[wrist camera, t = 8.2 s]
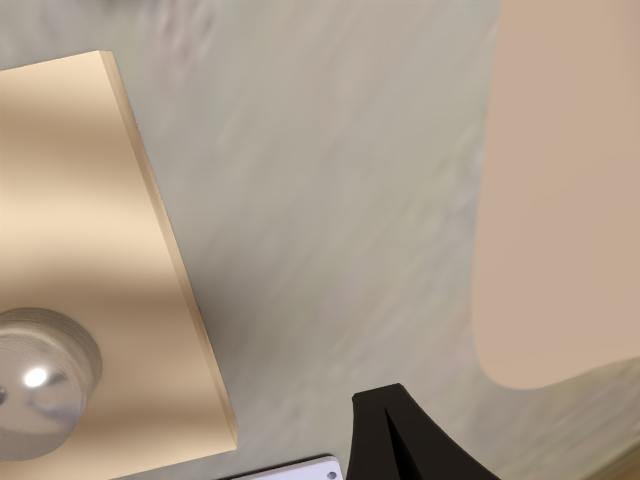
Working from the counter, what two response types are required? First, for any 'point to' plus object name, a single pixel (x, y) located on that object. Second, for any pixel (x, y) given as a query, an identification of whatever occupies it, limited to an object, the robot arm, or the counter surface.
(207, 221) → the counter surface
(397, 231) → the counter surface
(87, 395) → the grey bar with knob
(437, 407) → the counter surface
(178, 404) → the cutting board
